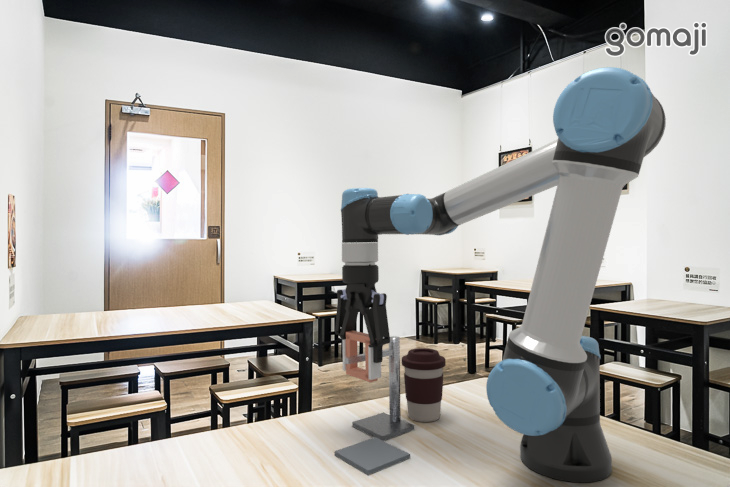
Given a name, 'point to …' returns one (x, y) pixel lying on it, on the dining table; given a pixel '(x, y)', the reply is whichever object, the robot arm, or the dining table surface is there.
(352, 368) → the link
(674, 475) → the dining table surface
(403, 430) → the stand
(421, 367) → the coffee cup
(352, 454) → the coaster
